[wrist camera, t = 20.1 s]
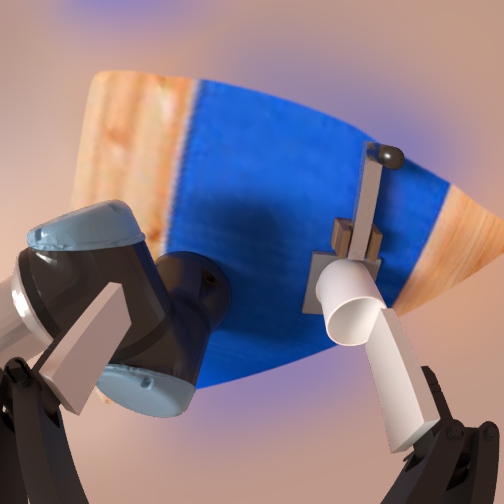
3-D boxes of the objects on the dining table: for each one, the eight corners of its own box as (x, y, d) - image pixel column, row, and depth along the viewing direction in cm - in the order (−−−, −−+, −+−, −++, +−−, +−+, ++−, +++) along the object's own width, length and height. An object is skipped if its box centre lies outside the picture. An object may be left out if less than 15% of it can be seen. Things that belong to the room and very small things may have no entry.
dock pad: (301, 308, 45) (302, 313, 44) (312, 250, 40) (313, 254, 39) (362, 311, 44) (363, 316, 43) (379, 256, 40) (381, 260, 38)
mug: (376, 306, 42) (394, 349, 33) (332, 323, 44) (341, 368, 35) (361, 248, 38) (383, 286, 29) (309, 267, 40) (318, 311, 31)
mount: (330, 242, 39) (336, 258, 35) (334, 217, 38) (342, 230, 33) (367, 246, 39) (377, 261, 35) (372, 221, 37) (384, 235, 33)
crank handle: (344, 253, 37) (358, 283, 30) (363, 140, 30) (385, 145, 23) (360, 254, 37) (376, 284, 30) (380, 143, 30) (405, 149, 23)
